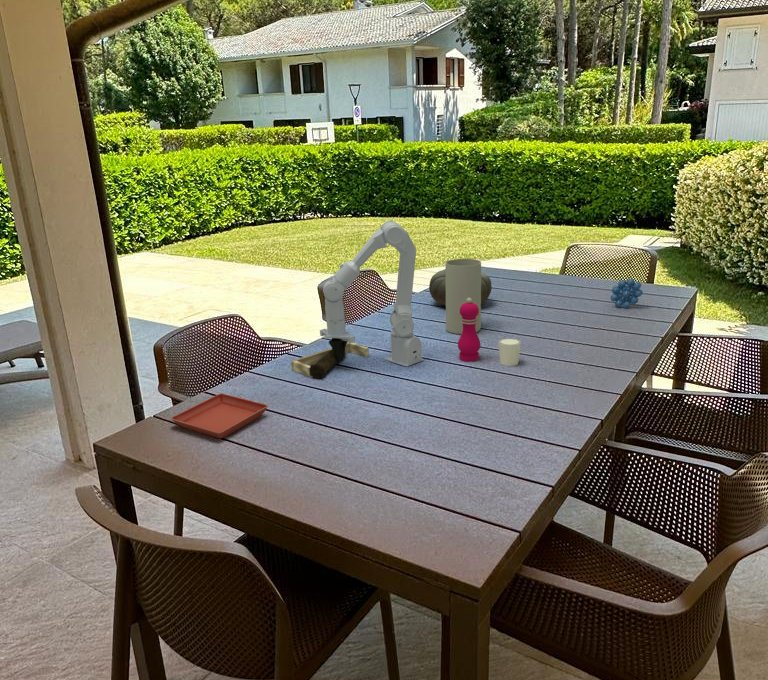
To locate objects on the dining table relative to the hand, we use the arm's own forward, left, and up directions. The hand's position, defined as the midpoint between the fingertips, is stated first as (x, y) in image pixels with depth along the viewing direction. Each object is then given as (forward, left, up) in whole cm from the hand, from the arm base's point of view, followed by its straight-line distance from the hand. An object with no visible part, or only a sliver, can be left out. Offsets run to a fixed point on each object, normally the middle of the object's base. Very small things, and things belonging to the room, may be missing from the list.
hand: (339, 360), depth 205 cm
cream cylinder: (-38, -37, -2) cm, 53 cm away
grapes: (-35, -117, -2) cm, 122 cm away
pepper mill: (-26, -32, -2) cm, 41 cm away
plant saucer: (-8, +47, -3) cm, 48 cm away
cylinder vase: (-5, -54, -2) cm, 54 cm away
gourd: (+18, -80, -2) cm, 82 cm away
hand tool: (+3, +2, -2) cm, 4 cm away
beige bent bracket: (+4, 0, -2) cm, 4 cm away
